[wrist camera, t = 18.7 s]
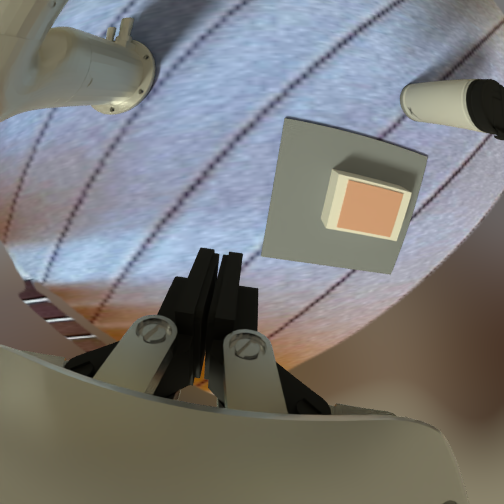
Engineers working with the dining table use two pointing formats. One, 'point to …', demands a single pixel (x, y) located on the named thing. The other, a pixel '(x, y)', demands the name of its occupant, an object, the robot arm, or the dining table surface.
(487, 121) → the travel mug
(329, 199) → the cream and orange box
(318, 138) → the mat
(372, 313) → the dining table surface
